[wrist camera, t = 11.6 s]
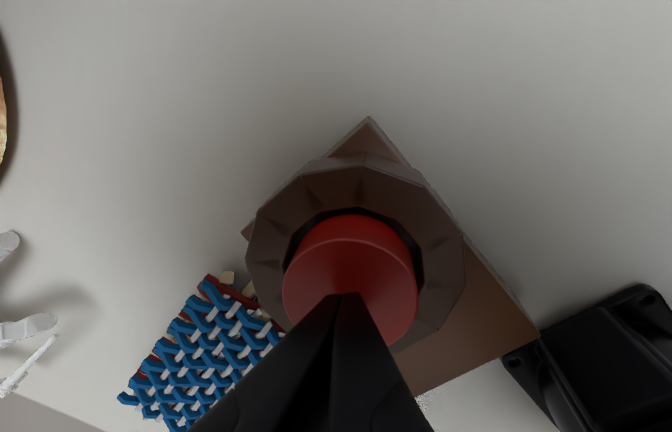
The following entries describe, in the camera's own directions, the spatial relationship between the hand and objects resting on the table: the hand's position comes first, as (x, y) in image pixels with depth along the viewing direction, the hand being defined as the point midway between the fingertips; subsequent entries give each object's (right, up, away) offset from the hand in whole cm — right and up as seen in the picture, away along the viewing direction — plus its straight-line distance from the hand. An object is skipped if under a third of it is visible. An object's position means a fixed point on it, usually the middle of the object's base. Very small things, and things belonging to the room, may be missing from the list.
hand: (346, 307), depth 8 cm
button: (0, +1, +2) cm, 2 cm away
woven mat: (-4, -6, +9) cm, 12 cm away
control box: (+2, +1, +6) cm, 6 cm away
